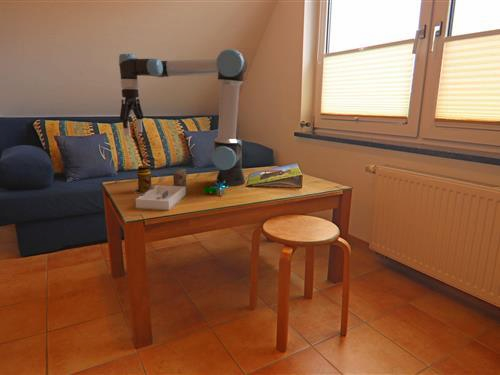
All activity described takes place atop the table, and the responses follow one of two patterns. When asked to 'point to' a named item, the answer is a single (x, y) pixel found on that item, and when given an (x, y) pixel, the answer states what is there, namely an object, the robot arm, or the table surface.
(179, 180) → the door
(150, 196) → the shallow white tray
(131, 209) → the table surface
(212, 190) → the stick construction toy
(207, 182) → the table surface
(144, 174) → the condiment
